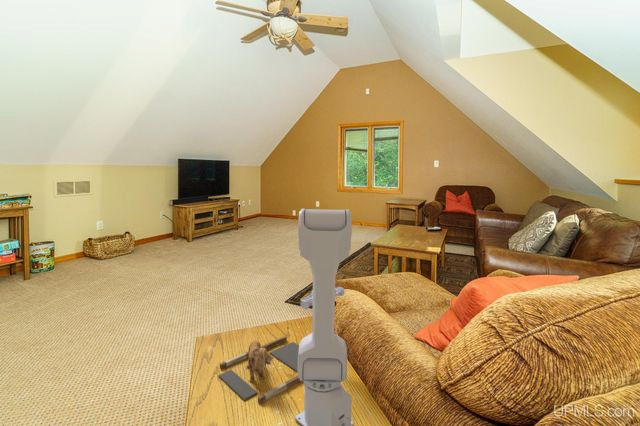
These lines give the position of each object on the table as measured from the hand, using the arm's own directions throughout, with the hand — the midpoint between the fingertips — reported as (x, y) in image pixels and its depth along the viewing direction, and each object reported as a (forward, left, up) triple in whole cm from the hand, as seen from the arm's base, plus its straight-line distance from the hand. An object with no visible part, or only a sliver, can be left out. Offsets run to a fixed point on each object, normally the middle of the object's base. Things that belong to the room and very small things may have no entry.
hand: (323, 326), depth 90 cm
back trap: (+6, +5, -9) cm, 12 cm away
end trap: (+6, +23, -9) cm, 25 cm away
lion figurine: (+7, +16, -10) cm, 20 cm away
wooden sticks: (+6, +12, -9) cm, 16 cm away
